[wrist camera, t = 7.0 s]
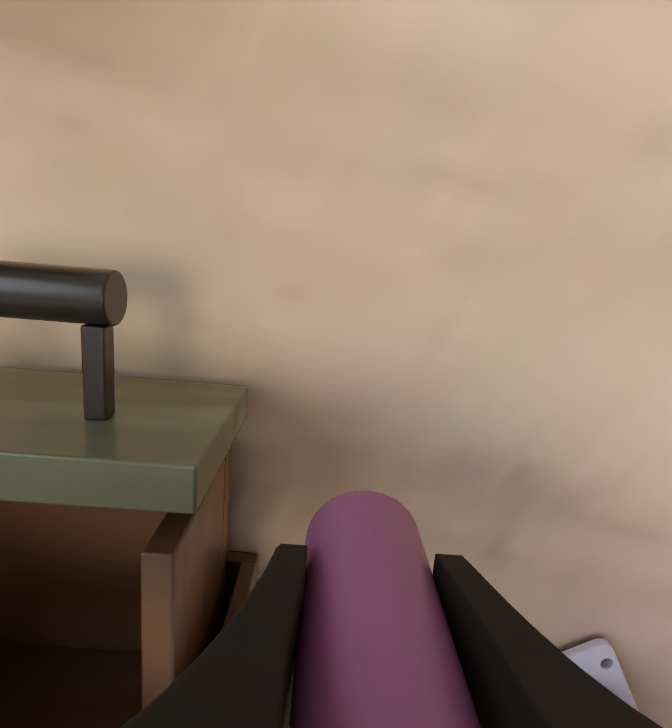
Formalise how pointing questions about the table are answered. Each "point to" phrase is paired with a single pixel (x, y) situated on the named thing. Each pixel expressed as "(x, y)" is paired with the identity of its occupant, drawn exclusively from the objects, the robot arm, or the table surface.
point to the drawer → (104, 516)
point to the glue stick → (374, 626)
